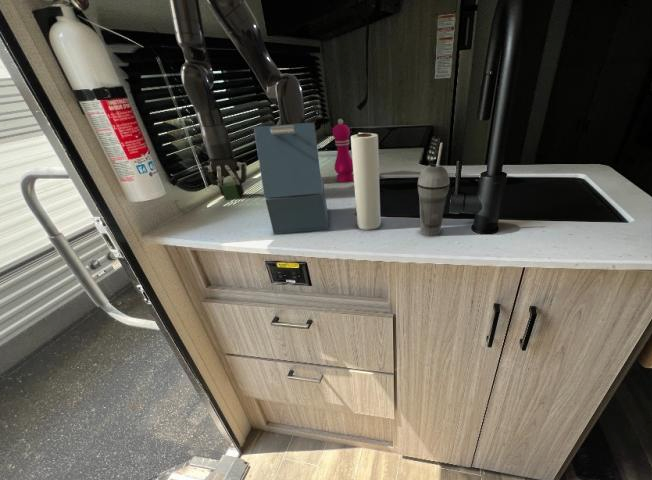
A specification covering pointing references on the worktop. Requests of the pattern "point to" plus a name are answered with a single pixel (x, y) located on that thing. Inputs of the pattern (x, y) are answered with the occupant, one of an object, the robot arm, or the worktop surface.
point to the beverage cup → (432, 196)
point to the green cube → (230, 190)
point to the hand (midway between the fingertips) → (233, 196)
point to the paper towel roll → (366, 179)
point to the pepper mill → (343, 153)
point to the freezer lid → (288, 160)
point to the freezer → (298, 213)
